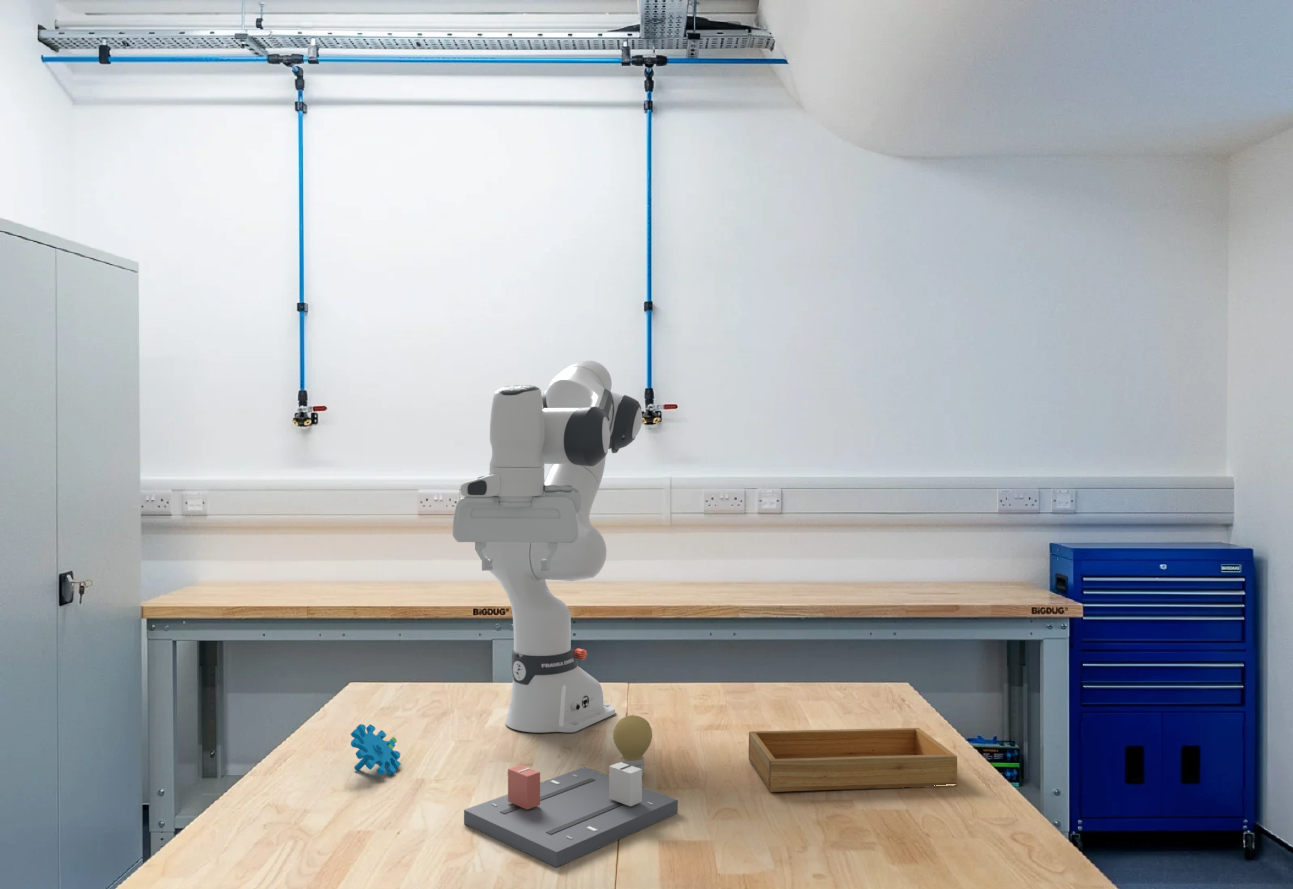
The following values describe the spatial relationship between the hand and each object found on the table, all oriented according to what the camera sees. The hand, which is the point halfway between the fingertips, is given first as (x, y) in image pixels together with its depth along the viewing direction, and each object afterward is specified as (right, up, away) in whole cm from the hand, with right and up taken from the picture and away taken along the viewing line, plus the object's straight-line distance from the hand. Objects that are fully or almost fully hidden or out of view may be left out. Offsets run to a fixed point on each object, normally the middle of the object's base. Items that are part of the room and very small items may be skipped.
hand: (516, 570), depth 151 cm
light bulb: (+19, -35, +2) cm, 39 cm away
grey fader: (+18, -32, -13) cm, 39 cm away
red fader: (+3, -32, -15) cm, 35 cm away
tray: (+55, -35, +4) cm, 65 cm away
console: (+10, -34, -14) cm, 39 cm away
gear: (-24, -34, +5) cm, 42 cm away
